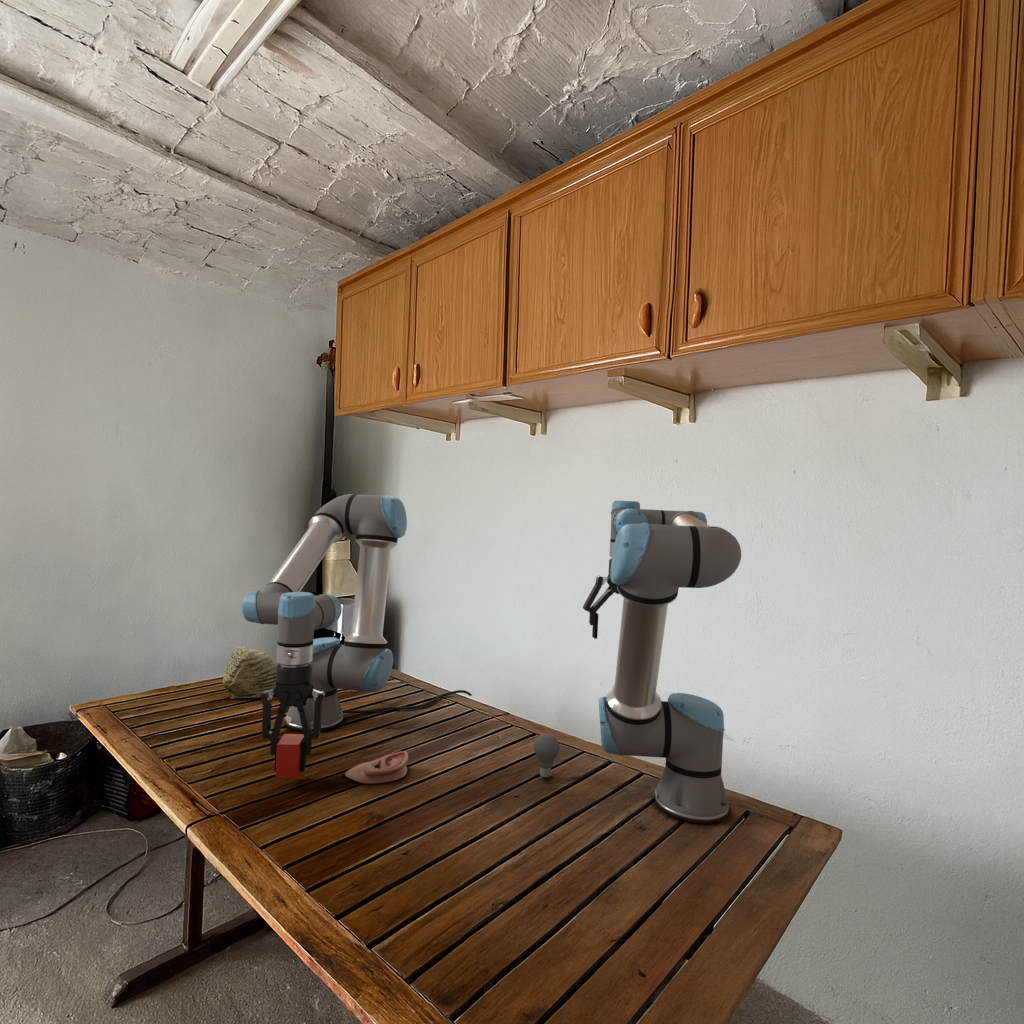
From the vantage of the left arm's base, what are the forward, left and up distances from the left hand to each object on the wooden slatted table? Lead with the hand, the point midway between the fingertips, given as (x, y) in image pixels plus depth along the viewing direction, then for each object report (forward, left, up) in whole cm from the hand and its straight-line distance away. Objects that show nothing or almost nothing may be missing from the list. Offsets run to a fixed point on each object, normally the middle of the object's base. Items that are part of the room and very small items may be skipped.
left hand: (290, 768), depth 139 cm
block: (0, 0, -1) cm, 1 cm away
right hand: (-71, +41, +26) cm, 86 cm away
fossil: (-26, -62, -3) cm, 67 cm away
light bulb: (-42, +39, -3) cm, 57 cm away
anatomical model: (-16, +10, -3) cm, 19 cm away
